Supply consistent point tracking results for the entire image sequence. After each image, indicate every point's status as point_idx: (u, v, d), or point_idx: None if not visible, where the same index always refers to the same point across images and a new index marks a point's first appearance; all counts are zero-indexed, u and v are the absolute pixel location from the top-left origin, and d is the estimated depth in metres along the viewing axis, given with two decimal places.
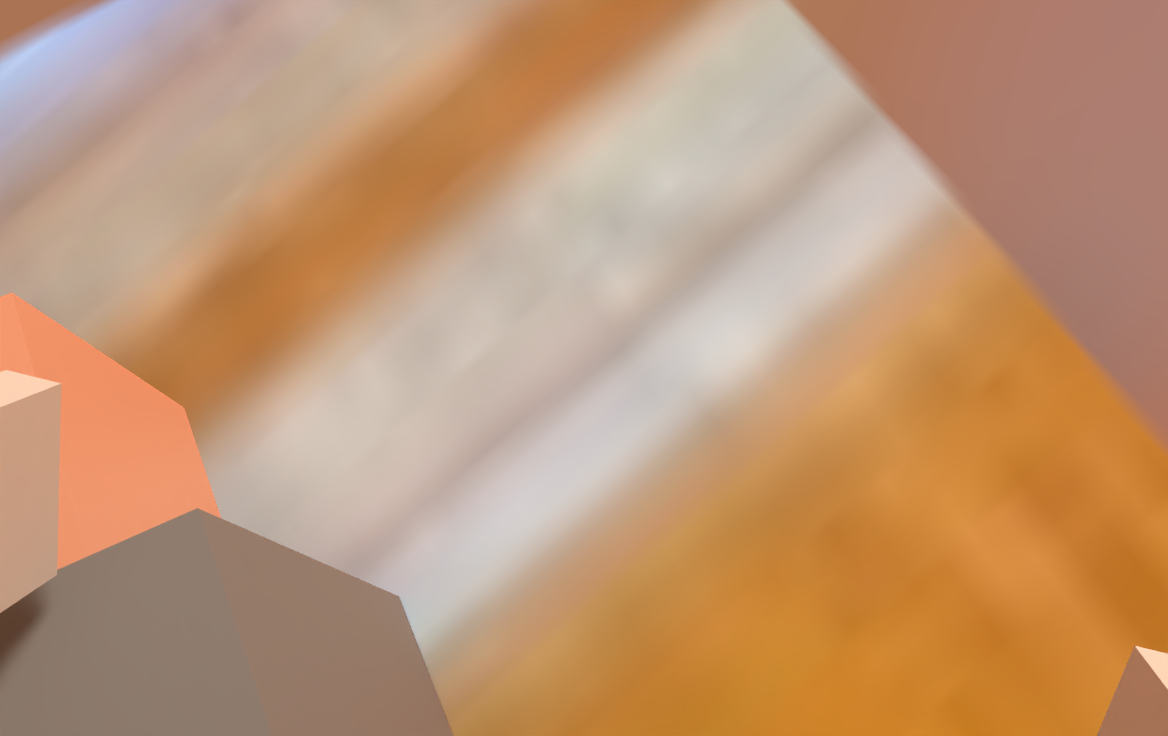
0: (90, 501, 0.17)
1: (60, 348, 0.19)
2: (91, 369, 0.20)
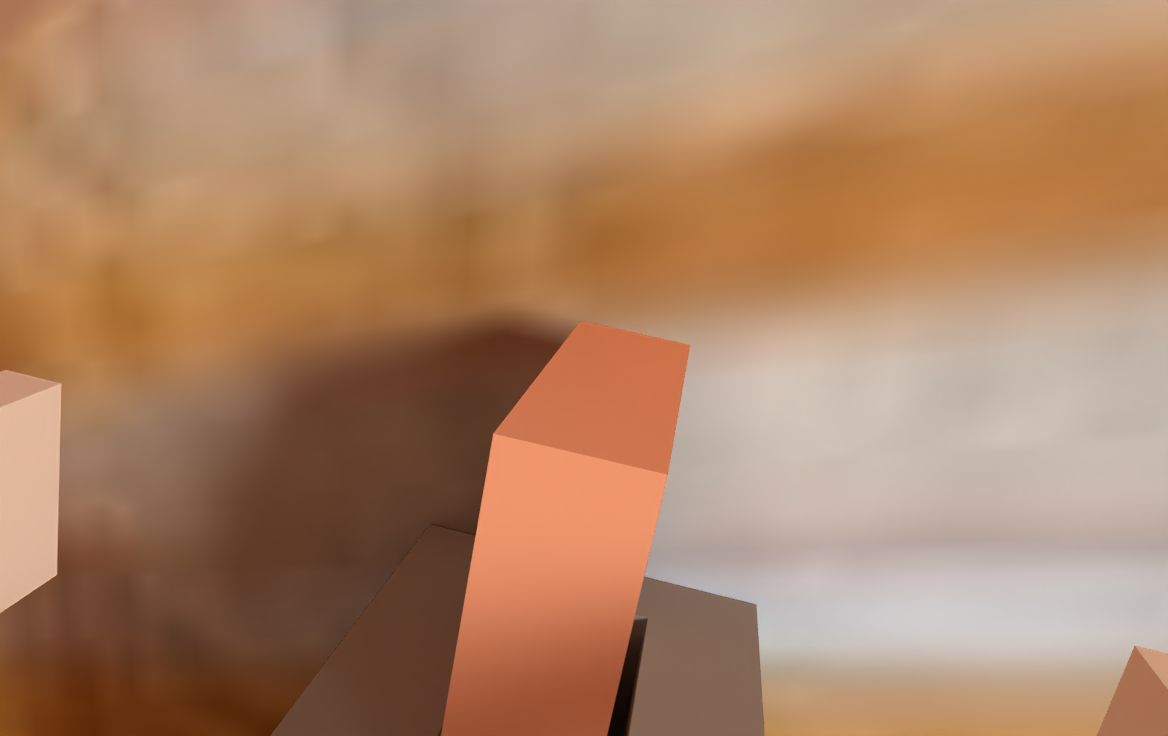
0: None
1: None
2: None
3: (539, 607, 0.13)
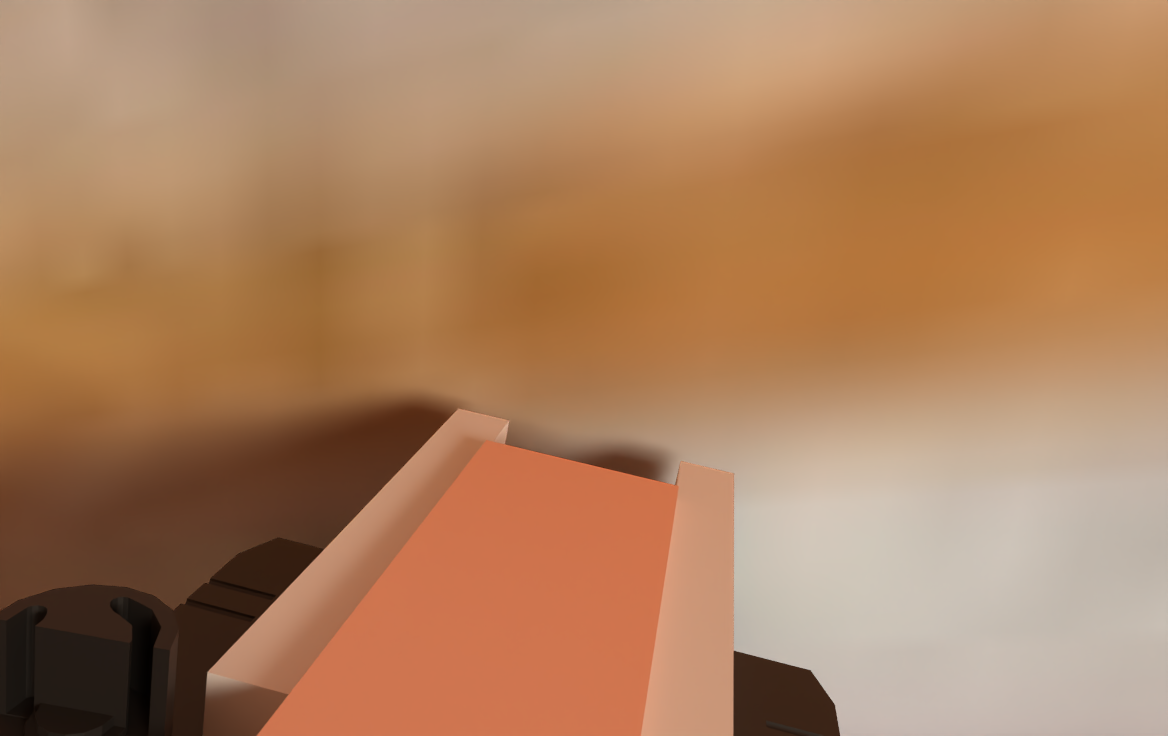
0: None
1: None
2: None
3: None
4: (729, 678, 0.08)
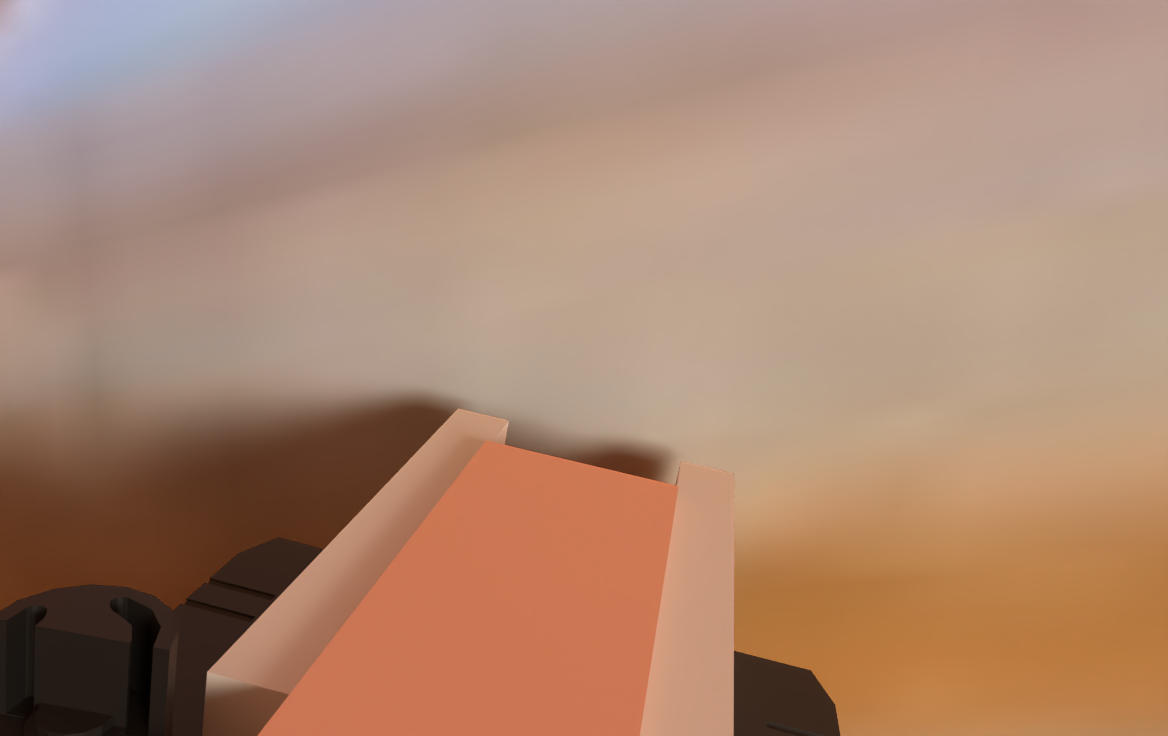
0: None
1: None
2: None
3: None
4: (729, 679, 0.08)
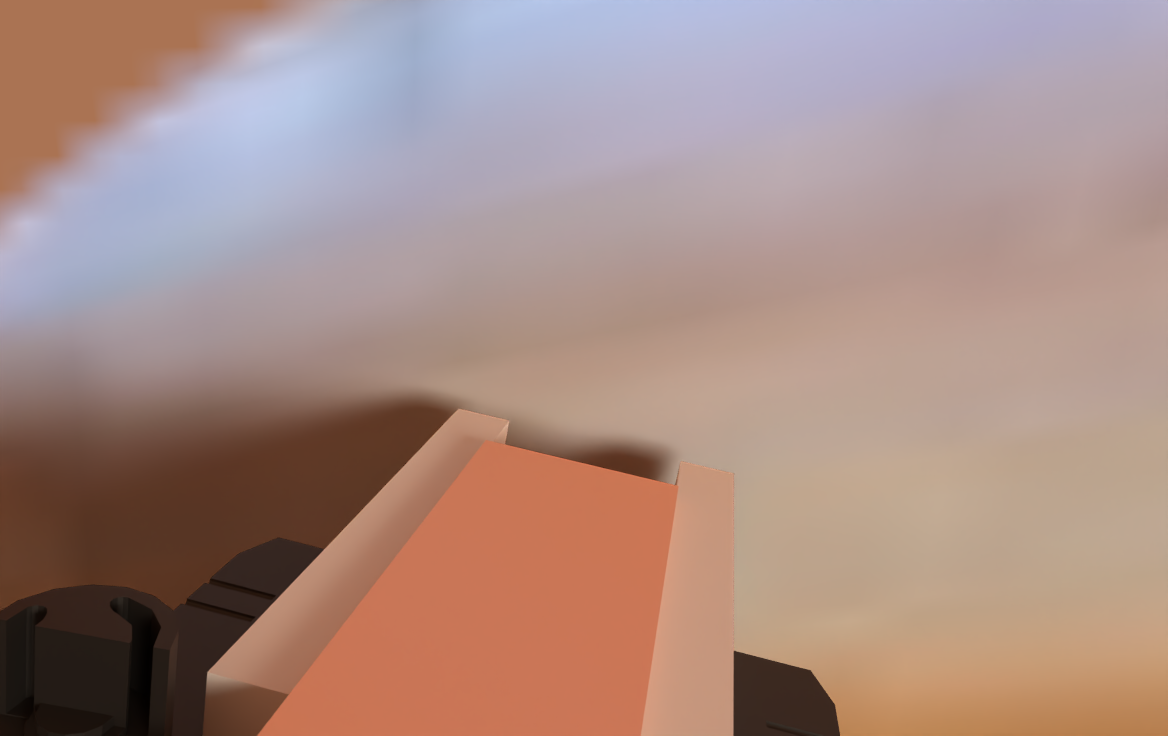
0: None
1: None
2: None
3: None
4: (729, 678, 0.08)
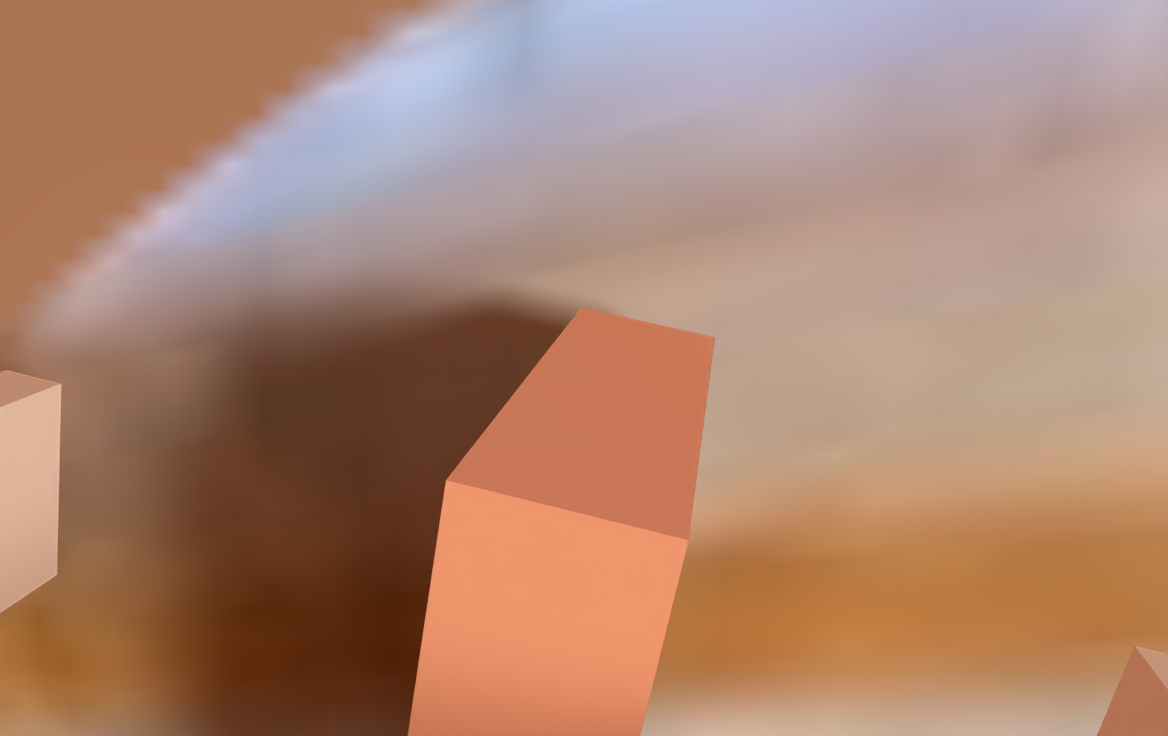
0: None
1: None
2: None
3: (512, 711, 0.10)
4: None
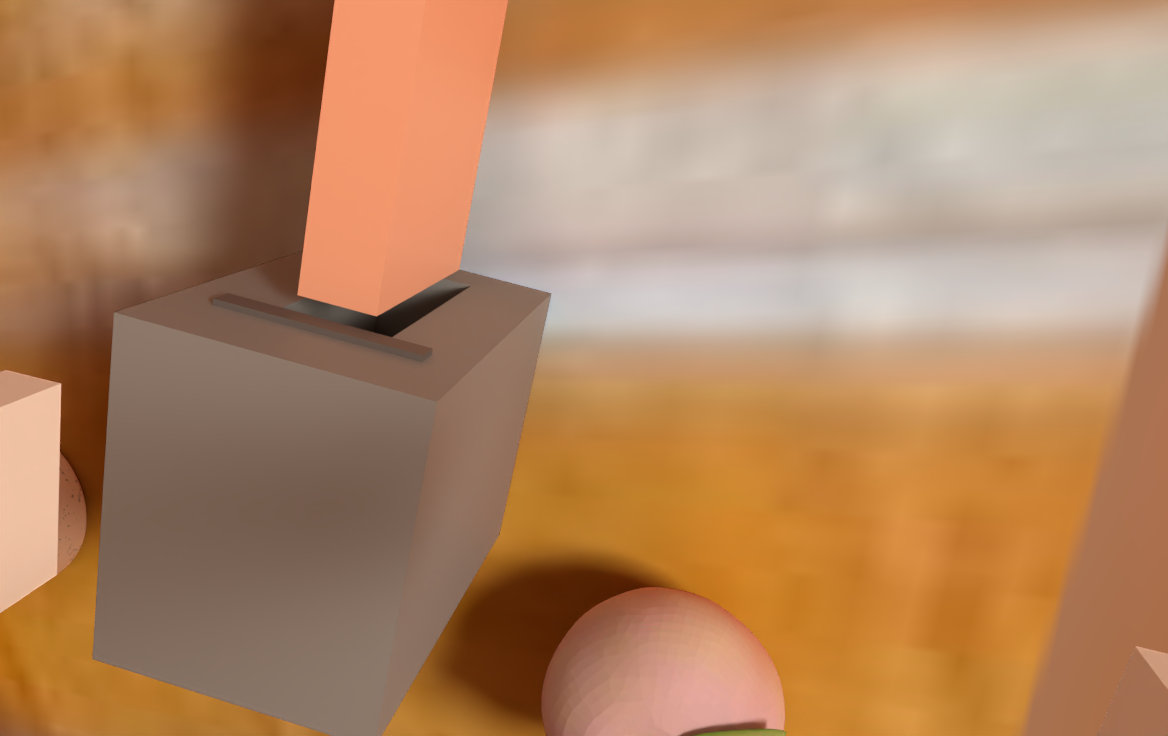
0: None
1: None
2: None
3: None
4: None
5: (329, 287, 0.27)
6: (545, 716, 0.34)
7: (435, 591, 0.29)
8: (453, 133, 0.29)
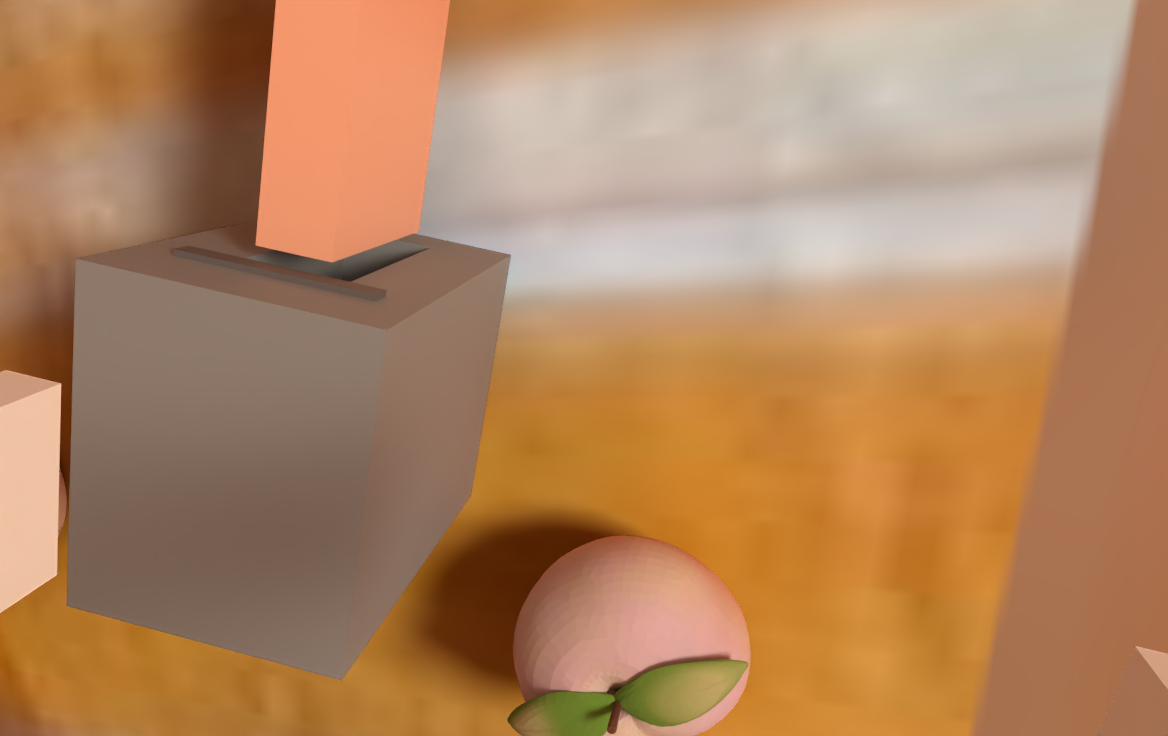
0: None
1: None
2: None
3: None
4: None
5: (285, 236, 0.28)
6: (516, 662, 0.34)
7: (400, 533, 0.30)
8: (404, 91, 0.31)
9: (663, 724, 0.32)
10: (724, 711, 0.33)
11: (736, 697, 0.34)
